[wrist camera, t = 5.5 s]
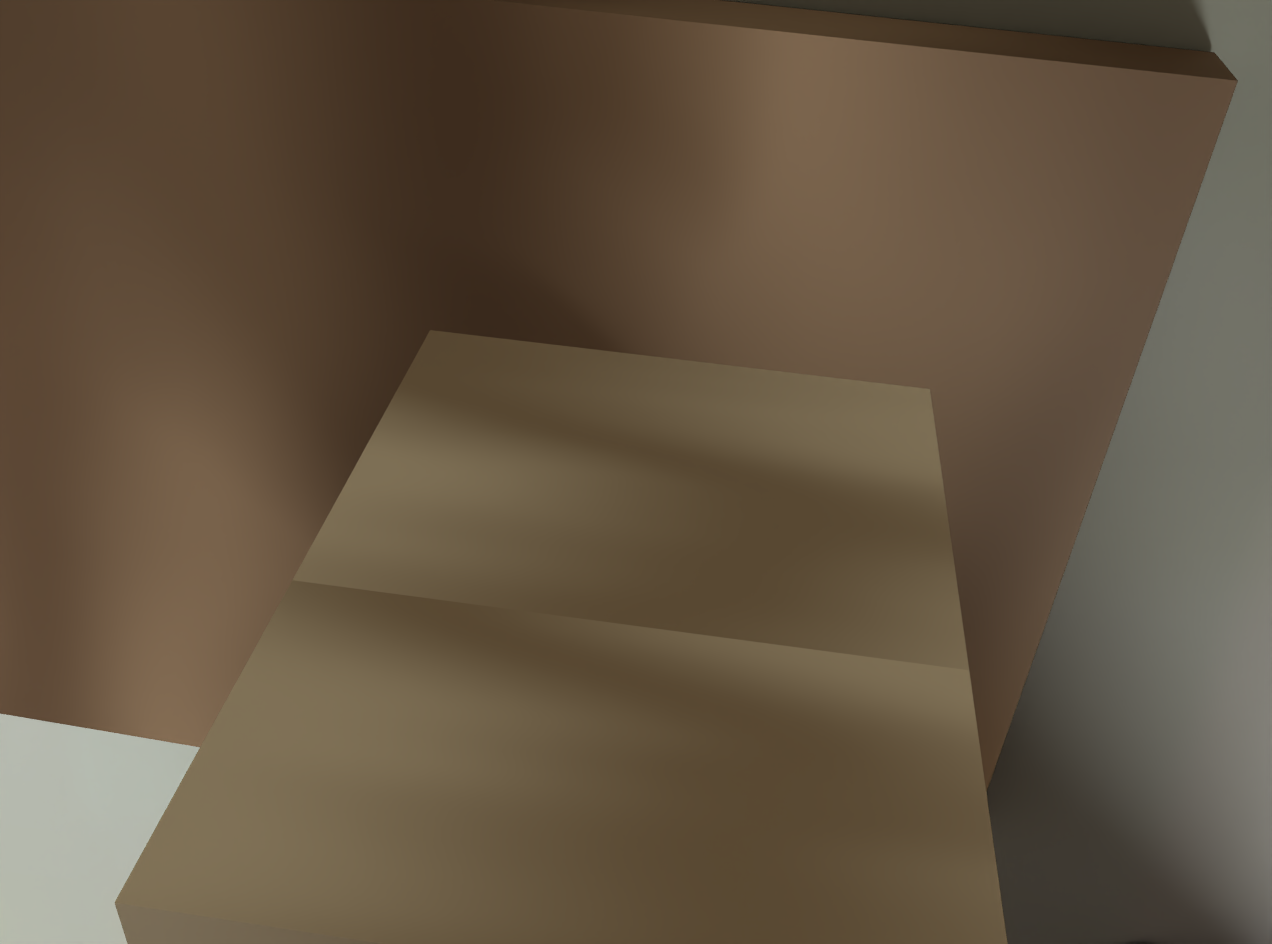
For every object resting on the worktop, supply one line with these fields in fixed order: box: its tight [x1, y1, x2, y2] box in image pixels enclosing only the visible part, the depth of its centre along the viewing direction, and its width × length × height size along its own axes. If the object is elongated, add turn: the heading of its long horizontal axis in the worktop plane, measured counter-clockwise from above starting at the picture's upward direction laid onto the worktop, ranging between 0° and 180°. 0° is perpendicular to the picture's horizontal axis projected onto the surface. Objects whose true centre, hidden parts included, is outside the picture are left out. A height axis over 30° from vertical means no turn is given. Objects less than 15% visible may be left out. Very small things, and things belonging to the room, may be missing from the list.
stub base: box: [0, 0, 1238, 792], centre depth 16 cm, size 18×13×4 cm
